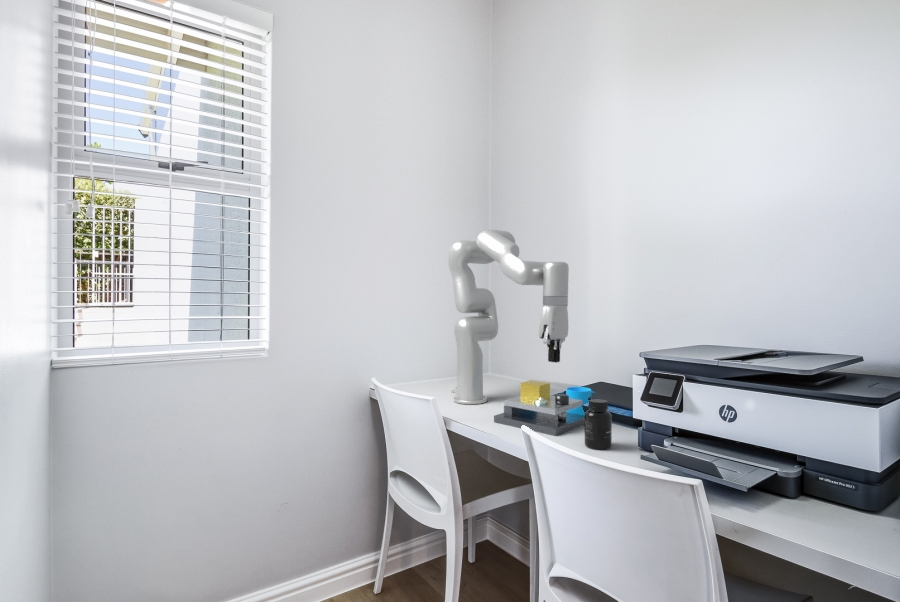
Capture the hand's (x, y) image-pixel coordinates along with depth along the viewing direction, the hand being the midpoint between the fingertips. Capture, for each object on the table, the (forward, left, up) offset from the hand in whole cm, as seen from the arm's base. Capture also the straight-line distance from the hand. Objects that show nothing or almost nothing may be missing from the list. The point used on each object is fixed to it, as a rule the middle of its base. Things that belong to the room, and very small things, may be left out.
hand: (553, 361), depth 148 cm
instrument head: (-3, -1, -14) cm, 14 cm away
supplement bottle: (+20, -11, -19) cm, 30 cm away
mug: (0, +19, -20) cm, 27 cm away
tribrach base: (-4, -1, -19) cm, 20 cm away
